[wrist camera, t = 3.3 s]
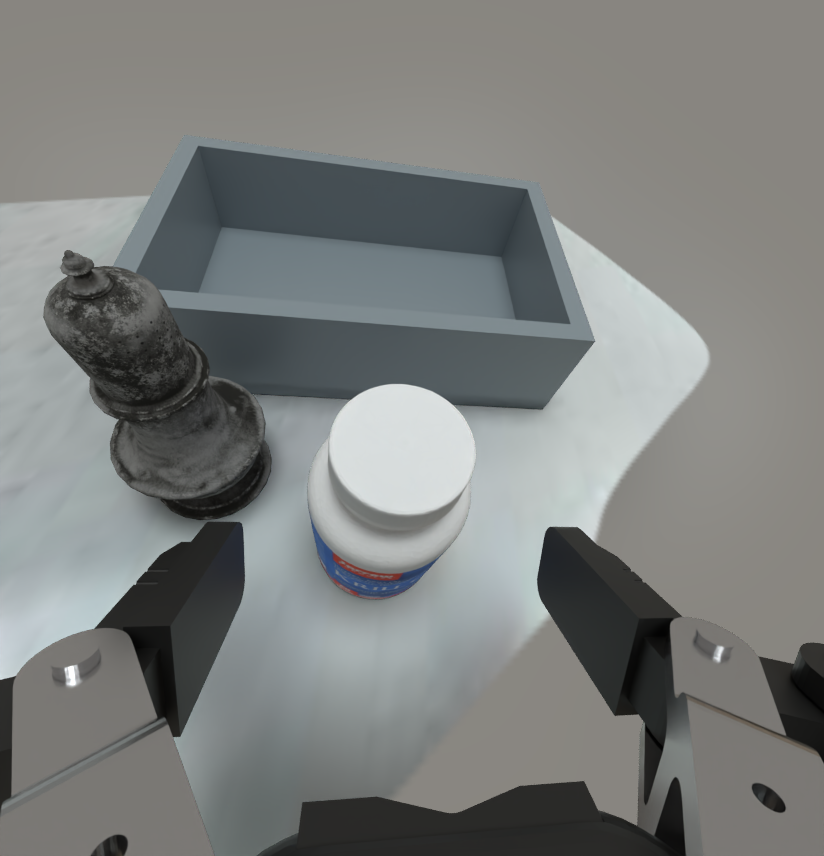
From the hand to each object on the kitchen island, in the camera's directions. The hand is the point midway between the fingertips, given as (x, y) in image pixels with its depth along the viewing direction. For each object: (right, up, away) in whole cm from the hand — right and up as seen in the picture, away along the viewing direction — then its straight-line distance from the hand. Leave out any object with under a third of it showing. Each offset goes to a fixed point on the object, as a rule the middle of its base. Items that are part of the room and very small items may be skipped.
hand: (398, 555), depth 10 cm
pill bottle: (-1, -2, +8) cm, 9 cm away
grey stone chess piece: (-9, +1, +9) cm, 13 cm away
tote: (-3, +11, +16) cm, 19 cm away
